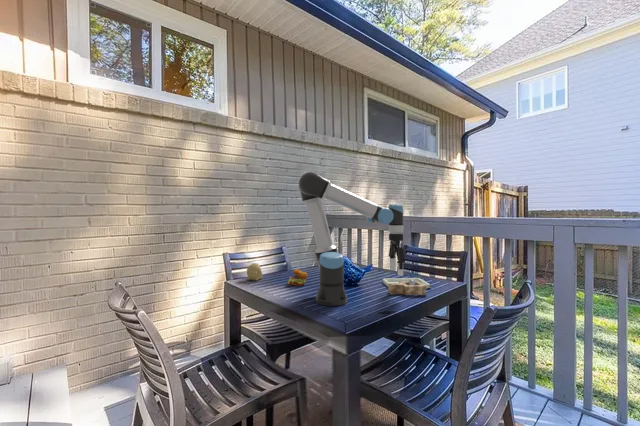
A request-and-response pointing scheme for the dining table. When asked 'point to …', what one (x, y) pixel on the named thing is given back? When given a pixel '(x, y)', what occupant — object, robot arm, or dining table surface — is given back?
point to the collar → (407, 288)
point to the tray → (397, 280)
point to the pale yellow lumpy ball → (254, 272)
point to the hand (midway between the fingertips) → (396, 272)
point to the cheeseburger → (298, 278)
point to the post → (411, 282)
